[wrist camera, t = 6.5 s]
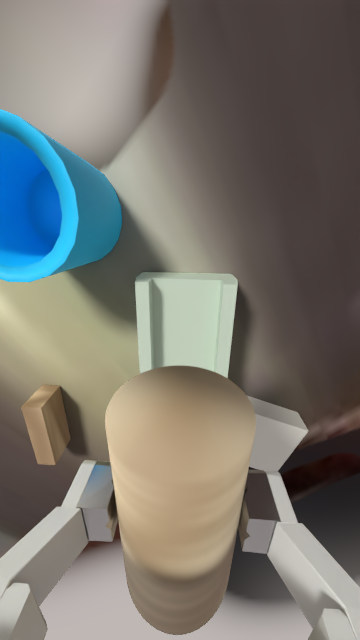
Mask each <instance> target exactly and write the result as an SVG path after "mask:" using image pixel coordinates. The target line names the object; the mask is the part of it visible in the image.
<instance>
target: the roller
mask: <svg viewBox="0 0 360 640" xmlns="http://www.w3.org/2000/svg"><path fill="white" fill-rule="evenodd" d="M105 426H106V433H107V440H108V447H109V455H110V462H111V469H112V477H113V484H114V491H115V498H116V506H117V513H118V520H119V527H120V535H121V542H122V549H123V556H124V562H125V563H124V564H125V571H126V577H127V584H128V588H129V592H130V595H131V598H132V600H133V603H134V604H135V606H136V608H137V610H138V611H139V613H140V614H141V615H142V617H143V618H144V619H145V620H146V621H147V622H148V623H149V624H150V625H152V626H153V627H154V628H156V629H157V630H160V631H162V632H164V633H168V634H173V635H182V634H187V633H191V632H193V631H195V630H197V629H199V628H200V627H202V626H203V625H205V624H206V623H207V622H208V621H209V620H210V619H211V618H212V617H213V615H214V614H215V612H216V611H217V609H218V608H219V606H220V604H221V602H222V600H223V597H224V594H225V592H226V587H227V583H228V578H229V573H230V567H231V562H232V556H233V550H234V545H235V540H236V534H237V529H238V523H239V518H240V513H241V507H242V502H243V496H244V491H245V485H246V480H247V474H248V469H249V463H250V458H251V452H252V447H253V441H254V436H255V429H256V416H255V412H254V408H253V406H252V404H251V402H250V400H249V398H248V397H247V395H246V394H245V393H244V392H243V390H242V389H241V388H239V387H238V386H237V385H236V384H235V383H234V382H232V381H231V380H229V379H228V378H226V377H224V376H222V375H220V374H218V373H216V372H213V371H210V370H207V369H204V368H199V367H193V366H178V365H176V366H165V367H159V368H155V369H151V370H148V371H146V372H143V373H141V374H139V375H137V376H135V377H133V378H131V379H130V380H128V381H127V382H126V383H124V384H123V385H122V386H121V387H120V388H119V389H118V390H117V391H116V393H115V394H114V395H113V397H112V399H111V400H110V402H109V405H108V407H107V411H106V416H105Z"/></svg>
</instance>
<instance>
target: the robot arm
mask: <svg viewBox="0 0 360 640" xmlns="http://www.w3.org/2000/svg"><path fill="white" fill-rule="evenodd" d="M117 521H118V514H117V506H116V498H115V491H114V484H113V477H112V469H111V462H104V461H92V460H84V462H83V463H82V464H81V466H80V468H79V470H78V472H77V474H76V476H75V478H74V481H73V483H72V485H71V487H70V489H69V491H68V493H67V495H66V497H65V499H64V502H63V504H62V506H61V507H56V508H55V509H54V510H53V511H52V512H51V513H50V514H48V515H47V516H46V517H45V518H44V519H43V520H42V521H41V522H40V523H39V524H37V525H36V526H35V527H34V528H33V529H32V530H31V531H30V532H29V533H28V534H27V535H25V536H24V537H23V538H22V539H21V540H20V541H19V542H18V543H17V544H16V545H14V546H13V547H12V548H11V549H10V550H9V551H8V552H7V553H6V554H5V555H4V556H2V557H1V558H0V640H44V638H45V635H46V632H47V624H46V621H45V619H44V617H43V615H42V612H41V610H40V608H39V606H40V605H41V603H42V602H43V600H44V599H45V598H46V597H47V595H48V594H49V593H50V591H51V590H52V589H53V588H54V586H55V585H56V584H57V582H58V581H59V580H60V579H61V577H62V576H63V574H64V573H65V572H66V571H67V569H68V568H69V567H70V565H71V564H72V563H73V562H74V560H75V559H76V558H77V556H78V555H79V553H80V552H81V551H82V550H83V549H84V547H85V546H86V545H87V543H88V540H89V541H112V540H113V537H114V533H115V529H116V525H117ZM239 533H240V539H241V545H242V551H246V552H256V553H265V554H268V557H269V558H270V560H271V562H272V563H273V565H274V567H275V568H276V570H277V572H278V573H279V575H280V577H281V578H282V580H283V581H284V583H285V585H286V586H287V588H288V589H289V591H290V593H291V594H292V596H293V597H294V599H295V601H296V602H297V604H298V606H299V607H300V609H301V610H302V612H303V614H304V615H305V617H306V619H307V620H308V622H309V623H310V625H311V626H312V628H313V631H312V633H311V635H310V636H309V638H308V640H360V587H359V586H358V585H357V584H356V583H355V582H354V581H353V580H352V578H350V576H349V575H348V574H347V573H346V572H345V571H344V569H343V568H342V567H341V566H340V565H339V564H338V563H337V562H336V561H335V559H334V558H333V557H332V556H331V555H330V554H329V553H328V552H327V551H326V549H325V548H324V547H323V546H322V545H321V544H320V542H319V541H318V540H317V539H316V538H315V537H314V536H313V535H312V534H311V532H310V531H309V530H308V529H307V528H306V527H305V526H304V525H303V524H302V523H298V521H297V519H296V516H295V513H294V511H293V508H292V505H291V502H290V499H289V497H288V494H287V491H286V488H285V486H284V483H283V480H282V477H281V475H280V473H279V472H277V471H264V470H248V474H247V480H246V485H245V491H244V496H243V502H242V507H241V513H240V522H239Z"/></svg>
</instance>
